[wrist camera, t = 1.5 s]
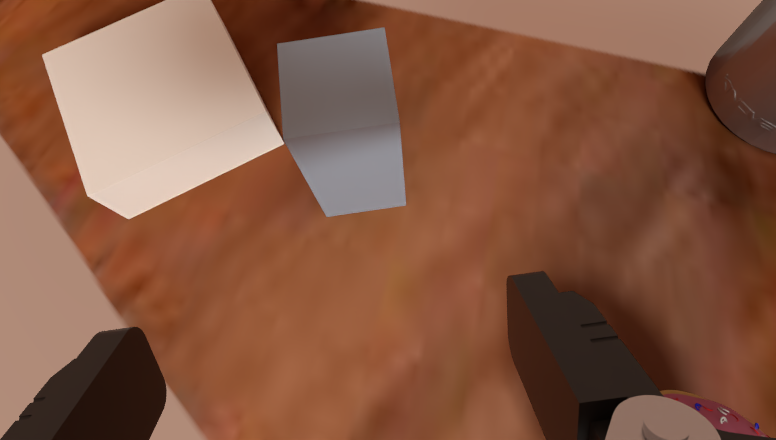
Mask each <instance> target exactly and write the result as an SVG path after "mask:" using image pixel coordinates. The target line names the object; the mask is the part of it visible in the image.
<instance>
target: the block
mask: <svg viewBox="0 0 776 440" xmlns="http://www.w3.org/2000/svg"><path fill="white" fill-rule="evenodd" d="M277 51H278V67H279V82H280V97H281V112H282V127H283V140H284V142H285V143H286V145H287V147H288V149H289V150H290V152H291V154H292V156H293V158H294V159H295V161H296V163H297V165H298V167H299V168H300V170H301V172H302V174H303V175H304V177H305V179H306V181H307V183H308V184H309V186H310V188H311V190H312V191H313V193H314V195H315V197H316V199H317V200H318V202H319V204H320V206H321V208H322V209H323V211H324V213H325V215H326V216H327V217H330V216H336V215H343V214H350V213H357V212H364V211H371V210H378V209H384V208H391V207H398V206H405V205H406V197H405V185H404V172H403V159H402V147H401V134H400V122H399V115H398V109H397V103H396V97H395V90H394V84H393V78H392V71H391V65H390V59H389V53H388V46H387V40H386V34H385V27H384V28H377V29H371V30H364V31H358V32H351V33H345V34H338V35H332V36H325V37H318V38H312V39H305V40H299V41H292V42H286V43H279V44H277Z"/></svg>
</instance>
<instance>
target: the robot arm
mask: <svg viewBox="0 0 776 440" xmlns="http://www.w3.org/2000/svg"><path fill="white" fill-rule="evenodd" d="M705 86H706V91H707V96H708V99H709V101H710V104H711V106H712V108H713V110H714V112H715V113H716V114H717V116H718V117H719V119H720V120H721V121H722V123H723V124H724V125H725V126H727V127H728V128H729V129H730V130H731V131H732V132H733V133H734V134H735V135H737V136H738V137H740V138H741V139H743V140H744V141H746V142H747V143H749V144H751V145H753V146H756V147H758V148H760V149H762V150H765V151H768V152H772V153H776V0H763V1H762V2H761V3H760V4H759V5H758V6H757V7H756V8H755V9H754V10H753V12H752V13H751V14H750V15H749V16H748V17H747V18H746V20H745V21H744V22H743V23H742V24H741V25H740V26H739V27H738V28H737V29H736V31H735V32H734V33H733V34H732V35H731V36H730V37H729V38H728V40H727V41H726V42H725V43H724V44H723V45H722V46H721V47H720V48H719V50H718V51H717V52H716V54H715V55H714V56H713V58H712V59H711V61H710V63H709V66H708V69H707V71H706V81H705ZM507 320H508V339H509V345H510V350H511V354H512V358H513V361H514V363H515V366H516V368H517V371H518V373H519V375H520V378H521V380H522V383H523V385H524V387H525V390H526V392H527V395H528V397H529V399H530V402H531V404H532V407H533V409H534V411H535V414H536V416H537V418H538V421H539V423H540V426H541V428H542V430H543V433H544V435H545V438H546V440H776V438H770V437H762V436H754V435H747V434H739V433H733V432H727V431H722V430H719V429H715V428H714V427H713V425H712V424H711V423H710V422H709V421H708V420H707V419H706V418H705V417H704V416H703V415H701V414H700V413H699V412H697V411H696V410H694V409H693V408H691V407H689V406H687V405H685V404H683V403H681V402H679V401H676V400H673V399H670V398H666V397H664V396H663V395H662V393H661V392H660V391H659V389H658V388H657V387H656V386H655V384H654V383H653V382H652V380H651V379H650V378H649V376H648V375H647V374H646V372H645V371H644V370H643V368H642V367H641V366H640V364H639V363H638V362H637V360H636V359H635V358H634V356H633V355H632V354H631V353H630V351H629V350H628V349H627V347H626V346H625V345H624V343H623V342H622V341H621V339H618V335H617V334H616V333H615V331H614V330H613V329H612V327H611V326H610V325H607V321H606V320H605V318H604V317H603V316H602V314H601V313H600V312H599V310H598V309H597V308H596V306H595V305H594V304H593V303H591V302H590V301H588V300H587V299H585V298H583V297H582V296H580V295H579V294H577V293H575V292H574V291H569V292H561V293H558V291H557V290H556V288H555V287H554V285H553V284H552V282H551V281H550V279H549V278H548V276H547V275H546V273H545V272H543V271H540V272H533V273H526V274H519V275H512V276H508V278H507ZM165 402H166V384H165V380H164V377H163V375H162V373H161V371H160V368H159V366H158V364H157V361H156V359H155V357H154V355H153V352H152V350H151V348H150V345H149V343H148V341H147V339H146V336H145V334H144V333H143V331H142V330H141V329H140V328H138V327H130V328H123V329H116V330H109V331H102V332H99V333H97V334H96V335H95V336H94V337H93V338H92V339H91V341H90V342H89V343H88V344H87V346H86V347H85V348H84V349H83V351H82V352H81V353H80V355H79V356H78V357H77V358H76V359H74V360H72V361H71V362H70V363H69V364H67V365H66V366H65V367H64V368H62V369H61V370H60V371H59V372H57V373H56V374H55V375H53V376H52V377H51V378H50V379H49V380H48V382H47V383H46V384H45V385H44V387H43V388H42V389H41V390H40V391H39V393H38V394H37V395H36V396H35V398H34V402H33V403H30V404H29V405H28V406H27V407H26V408H25V410H24V411H23V412H22V414H21V415H20V416H19V417H20V418H19V421H15V422H14V423H13V425H12V426H11V427H10V428H9V429H8V431H7V432H6V433H5V434H4V435H3V437H2V438H1V439H0V440H149V439H150V437H151V434H152V432H153V430H154V428H155V426H156V424H157V422H158V420H159V418H160V416H161V414H162V411H163V409H164V406H165Z"/></svg>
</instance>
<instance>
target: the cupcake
mask: <svg viewBox="0 0 776 440" xmlns="http://www.w3.org/2000/svg"><path fill="white" fill-rule="evenodd" d="M660 392H661V393H662V395H663V396H664V397H666V398H670V399H673V400H676V401H679V402H681V403H683V404H685V405H687V406H689V407H691V408H693V409H694V410H696V411H697V412H699V413H700V414H701V415H703V416H704V417H705V418H706V419H707V420H708V421H709V422H710V423H711V424H712V425H713V427H714V428H715V429H719V430H722V431H727V432H733V433H739V434H747V435H754V436H762V437H769V436H767V435H765V434H764V433H763V432H762V431H761V430H760V429H759V425H758V423H755V424H753V423H752V422H751V421H749V420H748V419H746V418H745V417H743V416H741V415H740V414H738V413H737V412H735V411H734V410H732V409H730V408H728V407H726V406H724V405H722V404H719V403H716V402H713V401H710V400H708V399H705V398H703V397H700V396H698V395H695V394H692V393H688V392H684V391H679V390H662V391H660Z"/></svg>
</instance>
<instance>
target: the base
mask: <svg viewBox="0 0 776 440" xmlns="http://www.w3.org/2000/svg"><path fill="white" fill-rule="evenodd" d="M42 56H43V60H44V63H45V66H46V69H47V72H48V75H49V78H50V81H51V84H52V87H53V91H54V94H55V97H56V100H57V103H58V106H59V109H60V112H61V115H62V119H63V122H64V125H65V128H66V131H67V134H68V137H69V140H70V143H71V147H72V150H73V153H74V156H75V159H76V162H77V165H78V168H79V171H80V174H81V178H82V181H83V184H84V187H85V190H86V193H87V196H88V197H90V198H92V199H93V200H95V201H97V202H99V203H100V204H102V205H104V206H106V207H108V208H109V209H111V210H113V211H115V212H116V213H118V214H120V215H122V216H124V217H125V218H127V219H130V218H133V217H135V216H137V215H139V214H141V213H143V212H145V211H147V210H149V209H151V208H153V207H155V206H157V205H159V204H161V203H163V202H166V201H168V200H170V199H172V198H174V197H176V196H178V195H180V194H182V193H184V192H186V191H188V190H190V189H192V188H194V187H196V186H199V185H201V184H203V183H205V182H207V181H209V180H211V179H213V178H215V177H217V176H219V175H221V174H223V173H225V172H227V171H229V170H232V169H234V168H236V167H238V166H240V165H242V164H244V163H246V162H248V161H250V160H252V159H254V158H256V157H258V156H260V155H262V154H264V153H267V152H269V151H271V150H273V149H275V148H277V147H279V146H281V145H283V144H284V142H283V140H282V138H281V136H280V134H279V132H278V130H277V128H276V126H275V124H274V122H273V120H272V118H271V116H270V114H269V112H268V110H267V108H266V106H265V104H264V102H263V100H262V98H261V96H260V94H259V92H258V90H257V88H256V86H255V84H254V82H253V80H252V78H251V76H250V74H249V72H248V70H247V68H246V66H245V64H244V62H243V60H242V58H241V56H240V54H239V52H238V50H237V48H236V46H235V44H234V42H233V40H232V38H231V36H230V34H229V33H228V31H227V29H226V27H225V25H224V23H223V21H222V19H221V17H220V16H219V14H218V12H217V10H216V8H215V6H214V5H213V3H212V1H211V0H165V1H163V2H161V3H158V4H156V5H154V6H151V7H149V8H147V9H145V10H142V11H140V12H138V13H136V14H133V15H131V16H129V17H127V18H124V19H122V20H120V21H117V22H115V23H113V24H111V25H108V26H106V27H104V28H102V29H99V30H97V31H95V32H93V33H90V34H88V35H86V36H83V37H81V38H79V39H77V40H74V41H72V42H70V43H68V44H65V45H63V46H61V47H59V48H56V49H54V50H52V51H49V52H47V53H45V54H43V55H42Z"/></svg>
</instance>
